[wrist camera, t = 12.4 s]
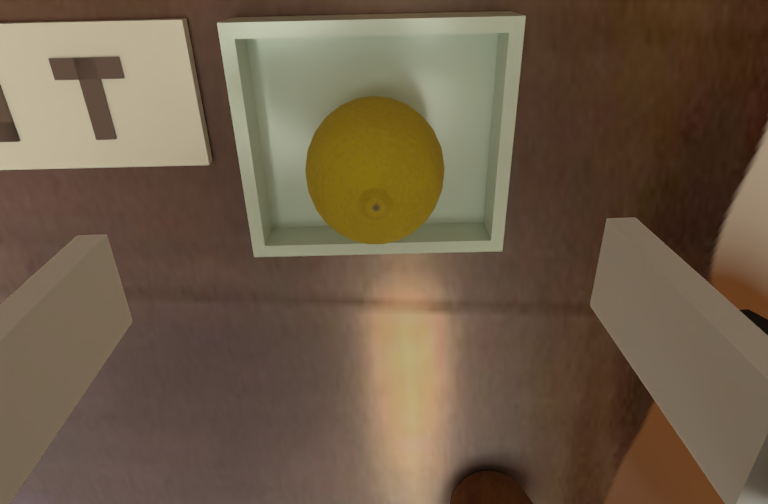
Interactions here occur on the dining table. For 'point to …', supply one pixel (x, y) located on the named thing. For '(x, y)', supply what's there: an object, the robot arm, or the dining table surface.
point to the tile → (100, 95)
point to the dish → (384, 79)
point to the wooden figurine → (489, 490)
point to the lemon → (374, 170)
